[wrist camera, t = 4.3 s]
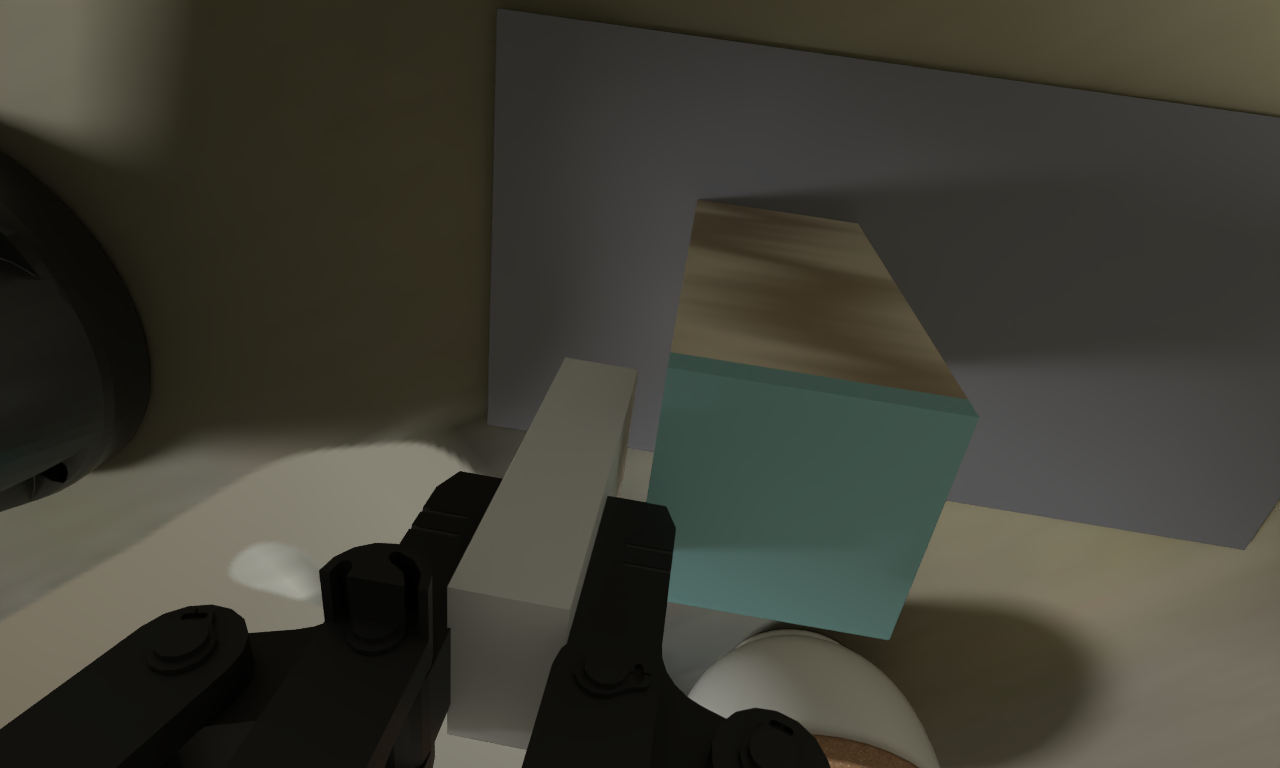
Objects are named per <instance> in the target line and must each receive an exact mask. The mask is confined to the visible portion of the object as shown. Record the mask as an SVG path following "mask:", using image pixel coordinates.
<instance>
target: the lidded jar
mask: <svg viewBox="0 0 1280 768" xmlns="http://www.w3.org/2000/svg"><path fill="white" fill-rule="evenodd" d="M688 698H690V699H692V700H693V701H695V702H696V703H698V704H699V705H701V706H703V707H705V708H707V709H709V710H710V711H712V712H714V713H716V714H718V715H720V716H722V717H724V718H726V719H727V718H728V717H729V716H731V715H732V714H733V713H735V712H737V711H741V710H746V709H751V708H761V709H768V710H774V711H778V712H780V713H782V714H784V715H786V716H788V717H790V718H792V719H794V720H796V721H798V722H799V723H800V724H801V725H802V726H803V727H804V728H806V729H807V730H808V731H809V732H810V733H811V734H812V735H813V736H814V737H815V738H816V740H817V741H818V743H819V745H820V747H821V748H822V750H823V752H824V754H825V755H826V757H827V759H828V762H829V765H830V767H831V768H941V767H940V764H939V762H938V759H937V757H936V754H935V752H934V750H933V747H932V745H931V743H930V740H929V738H928V736H927V733H926V731H925V729H924V727H923V725H922V723H921V722H920V720H919V718H918V716H917V714H916V713H915V711H914V709H913V708H912V706H911V705H910V703H909V702H908V700H907V699H906V697H905V696H904V695H903V694H902V692H901V691H900V690H899V689H898V687H897V686H896V685H895V684H894V683H893V682H892V681H891V680H890V679H889V678H888V677H887V676H886V675H885V674H884V673H883V672H882V671H881V670H880V669H879V668H877V667H876V666H875V665H874V664H872V663H871V662H870V661H868V660H867V659H865V658H864V657H863V656H861V655H859V654H857V653H855V652H853V651H851V650H849V649H847V648H845V647H844V646H842V645H841V644H840V643H838V642H837V641H835V640H833V639H831V638H829V637H827V636H824V635H822V634H819V633H816V632H811V631H807V630H799V629H779V630H771V631H767V632H763V633H760V634H757V635H754V636H752V637H750V638H748V639H746V640H744V641H743V642H741V643H740V644H739V645H738V646H736V647H735V648H734V649H733V650H732V651H730V652H728V653H727V654H725V655H724V656H722V657H721V658H720V659H718V660H717V661H716V662H714V663H713V664H712V665H711V666H710V668H709V669H708V670H707V671H706V672H705V673H704V674H703V675H702V676H701V677H700V678H699V679H698V681H697V682H696V684H695V685H694V687H693V688H692V690H691V692H690V693H689V695H688Z"/></svg>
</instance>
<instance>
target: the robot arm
mask: <svg viewBox="0 0 1280 768" xmlns="http://www.w3.org/2000/svg"><path fill="white" fill-rule="evenodd" d="M637 377H638V370H637V369H631V368H625V367H619V366H614V365H608V364H602V363H596V362H590V361H584V360H578V359H572V358H566V357H565V359H564V361H563V363H562V365H561V367H560V369H559V371H558V373H557V375H556V377H555V379H554V381H553V382H552V384H551V386H550V388H549V390H548V392H547V394H546V396H545V398H544V400H543V402H542V404H541V406H540V408H539V410H538V412H537V414H536V416H535V417H534V419H533V421H532V423H531V425H530V427H529V429H528V431H527V433H526V435H525V437H524V439H523V441H522V443H521V445H520V447H519V449H518V450H517V452H516V454H515V456H514V458H513V460H512V462H511V464H510V466H509V468H508V470H507V472H506V474H505V476H504V478H503V479H501V478H495V477H490V476H484V475H479V474H473V473H467V472H462V471H460V472H458V473H456V474H455V475H454V476H452V477H451V478H449V479H448V480H446V481H445V482H443V483H442V484H440V485H439V486H437V487H436V489H435V490H434V492H433V493H432V495H431V496H430V498H429V499H428V501H427V502H426V504H425V505H424V507H423V511H422V512H420V513H419V515H418V516H417V518H416V519H415V521H414V522H413V524H412V528H411V529H409V530H408V532H407V533H406V535H405V536H404V538H403V539H402V541H401V542H400V544H388V543H373V544H368V545H363V546H359V547H354V548H352V549H350V550H348V551H345V552H343V553H342V554H339V555H337V556H335V557H333V558H332V559H331V560H330V561H329V562H328V563H327V564H326V565H325V566H324V567H323V568H321V569H320V570H319V574H320V582H321V591H322V600H323V609H324V618H325V622H324V623H323V624H320V625H317V626H315V627H309V628H302V629H296V630H284V631H271V632H259V633H248V630H247V627H246V623H245V620H244V618H242V617H241V616H240V615H238V614H237V613H236V612H235V611H233V610H232V609H229V608H224V607H220V606H216V605H201V606H188V607H185V608H181V609H178V610H175V611H172V612H168V613H165V614H163V615H161V616H159V617H158V618H156V619H154V620H152V621H150V622H149V623H147V624H145V625H143V626H142V627H140V628H139V629H137V630H136V631H135V632H133V633H132V634H131V635H129V636H128V637H126V638H125V639H124V640H122V641H121V642H119V643H118V644H117V645H115V646H114V647H113V648H111V649H110V650H109V651H107V652H106V653H104V654H103V655H102V656H100V657H99V658H97V659H96V660H95V661H93V662H92V663H91V664H89V665H88V666H87V667H85V668H84V669H82V670H81V671H80V672H78V673H77V674H75V675H74V676H73V677H71V678H70V679H69V680H67V681H66V682H65V683H63V684H62V685H60V686H59V687H58V688H56V689H55V690H53V691H52V692H51V693H49V694H48V695H47V696H45V697H44V698H43V699H41V700H40V701H38V702H37V703H36V704H34V705H33V706H32V707H30V708H29V709H27V710H26V711H25V712H23V713H22V714H21V715H19V716H18V717H16V718H15V719H14V720H12V721H11V722H10V723H8V724H7V725H6V726H4V727H3V728H2V729H0V768H433V764H434V758H435V744H434V743H435V740H436V737H437V735H438V732H439V730H440V728H441V725H442V723H443V721H444V718H445V716H446V713H447V733H448V734H450V735H455V736H460V737H465V738H470V739H475V740H480V741H485V742H490V743H495V744H500V745H505V746H510V747H515V748H520V749H525V750H527V751H526V755H525V758H524V762H523V765H522V768H831V767H830V765H829V762H828V759H827V757H826V755H825V754H824V752H823V750H822V748H821V747H820V745H819V743H818V741H817V740H816V738H815V737H814V736H813V735H812V734H811V733H810V732H809V731H808V730H807V729H806V728H804V727H803V726H802V725H801V724H800V723H799V722H798V721H796V720H794V719H792V718H790V717H788V716H786V715H784V714H782V713H780V712H778V711H774V710H768V709H761V708H751V709H746V710H741V711H737V712H735V713H733V714H732V715H731V716H729V717H728V718H727V719H726V718H724V717H722V716H720V715H718V714H716V713H714V712H712V711H710V710H709V709H707V708H705V707H703V706H701V705H699V704H698V703H696V702H695V701H693V700H692V699H690V698H688V697H687V696H686V695H685V694H684V693H683V692H682V691H681V690H680V689H679V688H678V687H677V686H676V685H675V684H674V683H673V681H672V680H671V678H670V676H669V675H668V673H667V672H666V668H665V665H664V662H663V659H662V641H663V632H664V624H665V616H666V608H667V600H668V591H669V583H670V574H671V567H672V558H673V550H674V542H675V534H676V527H675V524H674V522H673V520H672V518H671V516H670V513H669V511H668V509H667V507H666V506H663V505H657V504H651V503H646V502H640V501H635V500H629V499H624V498H619V494H620V490H621V486H622V482H623V476H624V469H625V462H626V454H627V447H628V440H629V433H630V426H631V419H632V412H633V405H634V398H635V391H636V384H637ZM149 384H150V372H149V360H148V353H147V348H146V343H145V339H144V335H143V332H142V328H141V325H140V322H139V319H138V316H137V314H136V311H135V309H134V307H133V304H132V302H131V300H130V298H129V295H128V293H127V291H126V289H125V287H124V285H123V284H122V282H121V280H120V278H119V276H118V275H117V273H116V271H115V270H114V268H113V266H112V265H111V263H110V262H109V260H108V259H107V257H106V256H105V254H104V253H103V251H102V250H101V249H100V247H99V246H98V244H97V243H96V242H95V240H94V239H93V238H92V237H91V235H90V234H89V233H88V232H87V230H86V229H85V228H84V227H83V226H82V224H81V223H80V222H79V221H78V220H77V219H76V217H75V216H74V215H73V214H72V213H71V212H70V211H69V210H68V209H67V208H66V207H65V206H64V205H63V204H62V203H61V202H60V201H59V200H58V199H57V198H56V197H55V196H54V195H53V194H52V193H51V192H50V191H49V190H48V189H47V188H45V187H44V186H43V185H42V184H41V183H40V182H38V181H37V180H36V179H35V178H34V177H33V176H31V175H30V174H29V173H28V172H26V171H25V170H24V169H22V168H21V167H20V166H19V165H17V164H16V163H15V162H13V161H12V160H10V159H9V158H7V157H6V156H4V155H3V154H2V153H0V512H2V511H5V510H8V509H11V508H14V507H17V506H20V505H23V504H26V503H29V502H32V501H35V500H38V499H41V498H44V497H47V496H50V495H52V494H54V493H57V492H59V491H61V490H63V489H65V488H67V487H69V486H70V485H72V484H74V483H76V482H77V481H78V480H80V479H81V478H83V477H84V476H86V475H87V474H88V473H90V472H91V471H93V470H94V469H95V468H97V467H98V466H100V465H101V464H103V463H104V462H105V461H107V460H108V459H110V458H111V457H112V456H114V455H115V454H117V453H118V452H119V451H120V450H121V449H122V448H123V447H124V446H125V445H126V444H127V443H128V442H129V441H130V440H131V438H132V437H133V435H134V434H135V432H136V431H137V429H138V427H139V425H140V423H141V421H142V418H143V416H144V413H145V409H146V406H147V401H148V395H149Z"/></svg>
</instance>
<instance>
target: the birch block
mask: <svg viewBox="0 0 1280 768" xmlns="http://www.w3.org/2000/svg"><path fill="white" fill-rule="evenodd" d="M979 418H980V417H979V416H978V414H977V413H976V411H975V409H974V408H973V406H972V405H971V403H970V401H969V400H968V398H967V397H966V395H965V393H964V392H963V390H962V389H961V387H960V386H959V384H958V382H957V381H956V379H955V378H954V376H953V374H952V373H951V371H950V370H949V368H948V366H947V365H946V363H945V362H944V360H943V358H942V357H941V355H940V354H939V352H938V350H937V349H936V347H935V346H934V344H933V342H932V341H931V339H930V338H929V336H928V334H927V333H926V331H925V330H924V328H923V326H922V325H921V323H920V322H919V320H918V318H917V317H916V315H915V314H914V312H913V311H912V309H911V307H910V306H909V304H908V303H907V301H906V299H905V298H904V296H903V295H902V293H901V291H900V290H899V288H898V287H897V285H896V283H895V282H894V280H893V279H892V277H891V275H890V274H889V272H888V271H887V269H886V267H885V266H884V264H883V263H882V261H881V259H880V258H879V256H878V255H877V253H876V251H875V250H874V248H873V247H872V245H871V244H870V242H869V240H868V239H867V237H866V236H865V234H864V232H863V231H862V229H861V228H860V226H859V224H858V223H851V222H845V221H838V220H831V219H825V218H818V217H811V216H805V215H798V214H791V213H785V212H778V211H771V210H765V209H758V208H751V207H745V206H738V205H731V204H725V203H718V202H711V201H705V200H698V199H697V204H696V210H695V216H694V221H693V227H692V233H691V238H690V244H689V249H688V255H687V261H686V266H685V272H684V278H683V283H682V289H681V295H680V300H679V306H678V311H677V317H676V323H675V328H674V334H673V340H672V345H671V351H670V356H669V362H668V368H667V374H666V380H665V387H664V393H663V400H662V406H661V412H660V419H659V425H658V431H657V438H656V444H655V450H654V457H653V463H652V469H651V476H650V482H649V489H648V495H647V501H646V503H651V504H657V505H663V506H666V507H667V509H668V511H669V513H670V516H671V518H672V520H673V522H674V524H675V527H676V534H675V542H674V550H673V558H672V567H671V574H670V583H669V591H668V600H667V602H672V603H678V604H684V605H689V606H695V607H701V608H707V609H712V610H718V611H724V612H730V613H735V614H741V615H747V616H752V617H758V618H764V619H770V620H775V621H781V622H787V623H793V624H798V625H804V626H810V627H815V628H821V629H827V630H833V631H838V632H844V633H850V634H856V635H861V636H867V637H873V638H878V639H884V640H890V637H891V635H892V632H893V630H894V627H895V625H896V622H897V620H898V617H899V615H900V612H901V610H902V607H903V605H904V603H905V600H906V598H907V595H908V593H909V590H910V588H911V585H912V583H913V580H914V578H915V575H916V573H917V571H918V568H919V566H920V563H921V561H922V558H923V556H924V553H925V551H926V548H927V546H928V543H929V541H930V539H931V536H932V534H933V531H934V529H935V526H936V524H937V521H938V519H939V516H940V514H941V511H942V509H943V507H944V504H945V502H946V499H947V497H948V494H949V492H950V489H951V487H952V484H953V482H954V479H955V477H956V474H957V472H958V470H959V467H960V465H961V462H962V460H963V457H964V455H965V452H966V450H967V447H968V445H969V442H970V440H971V438H972V435H973V433H974V430H975V428H976V425H977V423H978V420H979Z"/></svg>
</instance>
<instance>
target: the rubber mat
mask: <svg viewBox="0 0 1280 768" xmlns="http://www.w3.org/2000/svg"><path fill="white" fill-rule="evenodd" d="M697 199H698V200H705V201H711V202H718V203H725V204H731V205H738V206H745V207H751V208H758V209H765V210H771V211H778V212H785V213H791V214H798V215H805V216H811V217H818V218H825V219H831V220H838V221H845V222H851V223H858V224H859V226H860V228H861V229H862V231H863V232H864V234H865V236H866V237H867V239H868V240H869V242H870V244H871V245H872V247H873V248H874V250H875V251H876V253H877V255H878V256H879V258H880V259H881V261H882V263H883V264H884V266H885V267H886V269H887V271H888V272H889V274H890V275H891V277H892V279H893V280H894V282H895V283H896V285H897V287H898V288H899V290H900V291H901V293H902V295H903V296H904V298H905V299H906V301H907V303H908V304H909V306H910V307H911V309H912V311H913V312H914V314H915V315H916V317H917V318H918V320H919V322H920V323H921V325H922V326H923V328H924V330H925V331H926V333H927V334H928V336H929V338H930V339H931V341H932V342H933V344H934V346H935V347H936V349H937V350H938V352H939V354H940V355H941V357H942V358H943V360H944V362H945V363H946V365H947V366H948V368H949V370H950V371H951V373H952V374H953V376H954V378H955V379H956V381H957V382H958V384H959V386H960V387H961V389H962V390H963V392H964V393H965V395H966V397H967V398H968V400H969V401H970V403H971V405H972V406H973V408H974V409H975V411H976V413H977V414H978V416H979V417H980V418H979V420H978V423H977V425H976V428H975V430H974V433H973V435H972V438H971V440H970V442H969V445H968V447H967V450H966V452H965V455H964V457H963V460H962V462H961V465H960V467H959V470H958V472H957V474H956V477H955V479H954V482H953V484H952V487H951V489H950V492H949V494H948V497H947V499H946V501H952V502H958V503H964V504H970V505H976V506H982V507H988V508H994V509H1000V510H1006V511H1012V512H1018V513H1024V514H1030V515H1037V516H1043V517H1049V518H1055V519H1061V520H1067V521H1073V522H1079V523H1085V524H1091V525H1097V526H1103V527H1109V528H1115V529H1121V530H1127V531H1133V532H1139V533H1145V534H1151V535H1157V536H1163V537H1169V538H1175V539H1181V540H1188V541H1194V542H1200V543H1206V544H1212V545H1218V546H1224V547H1230V548H1236V549H1242V550H1245V548H1246V547H1247V546H1248V544H1249V543H1250V541H1251V540H1252V538H1253V537H1254V535H1255V534H1256V532H1257V531H1258V529H1259V528H1260V526H1261V525H1262V524H1263V522H1264V521H1265V519H1266V518H1267V516H1268V515H1269V513H1270V512H1271V510H1272V509H1273V507H1274V506H1275V505H1276V503H1277V502H1278V500H1279V499H1280V117H1274V116H1266V115H1259V114H1252V113H1245V112H1238V111H1231V110H1224V109H1216V108H1209V107H1202V106H1195V105H1188V104H1181V103H1173V102H1166V101H1159V100H1152V99H1145V98H1138V97H1130V96H1123V95H1116V94H1109V93H1102V92H1095V91H1088V90H1080V89H1073V88H1066V87H1059V86H1052V85H1045V84H1037V83H1030V82H1023V81H1016V80H1009V79H1002V78H995V77H987V76H980V75H973V74H966V73H959V72H952V71H944V70H937V69H930V68H923V67H916V66H909V65H902V64H894V63H887V62H880V61H873V60H866V59H859V58H851V57H844V56H837V55H830V54H823V53H816V52H809V51H801V50H794V49H787V48H780V47H773V46H766V45H758V44H751V43H744V42H737V41H730V40H723V39H716V38H708V37H701V36H694V35H687V34H680V33H673V32H665V31H658V30H651V29H644V28H637V27H630V26H622V25H615V24H608V23H601V22H594V21H587V20H580V19H572V18H565V17H558V16H551V15H544V14H537V13H529V12H522V11H515V10H508V9H500V8H497V31H496V74H495V117H494V159H493V202H492V245H491V287H490V330H489V372H488V415H487V425H493V426H499V427H505V428H511V429H517V430H523V431H528V429H529V427H530V425H531V423H532V421H533V419H534V417H535V416H536V414H537V412H538V410H539V408H540V406H541V404H542V402H543V400H544V398H545V396H546V394H547V392H548V390H549V388H550V386H551V384H552V382H553V381H554V379H555V377H556V375H557V373H558V371H559V369H560V367H561V365H562V363H563V361H564V359H565V357H566V358H572V359H578V360H584V361H590V362H596V363H602V364H608V365H614V366H619V367H625V368H631V369H637V370H638V377H637V384H636V391H635V398H634V405H633V412H632V419H631V426H630V433H629V440H628V447H627V448H632V449H638V450H644V451H650V452H654V450H655V444H656V438H657V431H658V425H659V419H660V412H661V406H662V400H663V393H664V387H665V380H666V374H667V368H668V362H669V356H670V351H671V345H672V340H673V334H674V328H675V323H676V317H677V311H678V306H679V300H680V295H681V289H682V283H683V278H684V272H685V266H686V261H687V255H688V249H689V244H690V238H691V233H692V227H693V221H694V216H695V210H696V204H697Z"/></svg>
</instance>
